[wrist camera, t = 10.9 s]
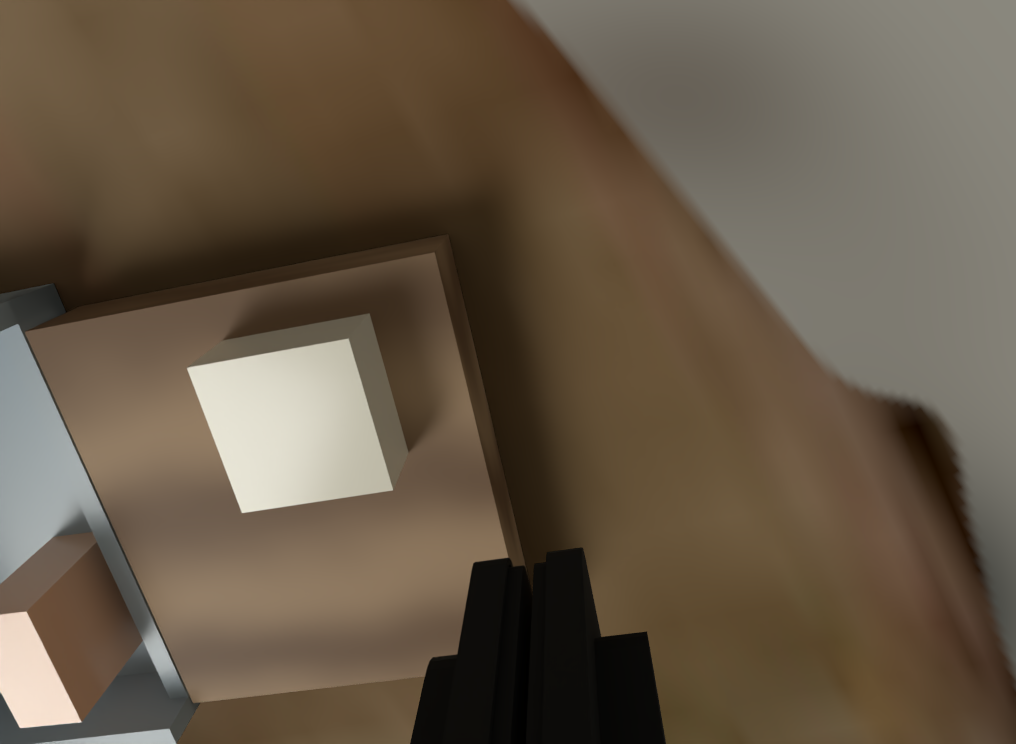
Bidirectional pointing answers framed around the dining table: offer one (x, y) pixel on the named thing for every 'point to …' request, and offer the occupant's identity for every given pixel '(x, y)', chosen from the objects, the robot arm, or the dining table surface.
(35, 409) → the tray
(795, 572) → the dining table surface
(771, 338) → the dining table surface
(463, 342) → the walnut board
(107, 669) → the peach block
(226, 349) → the cream tile
